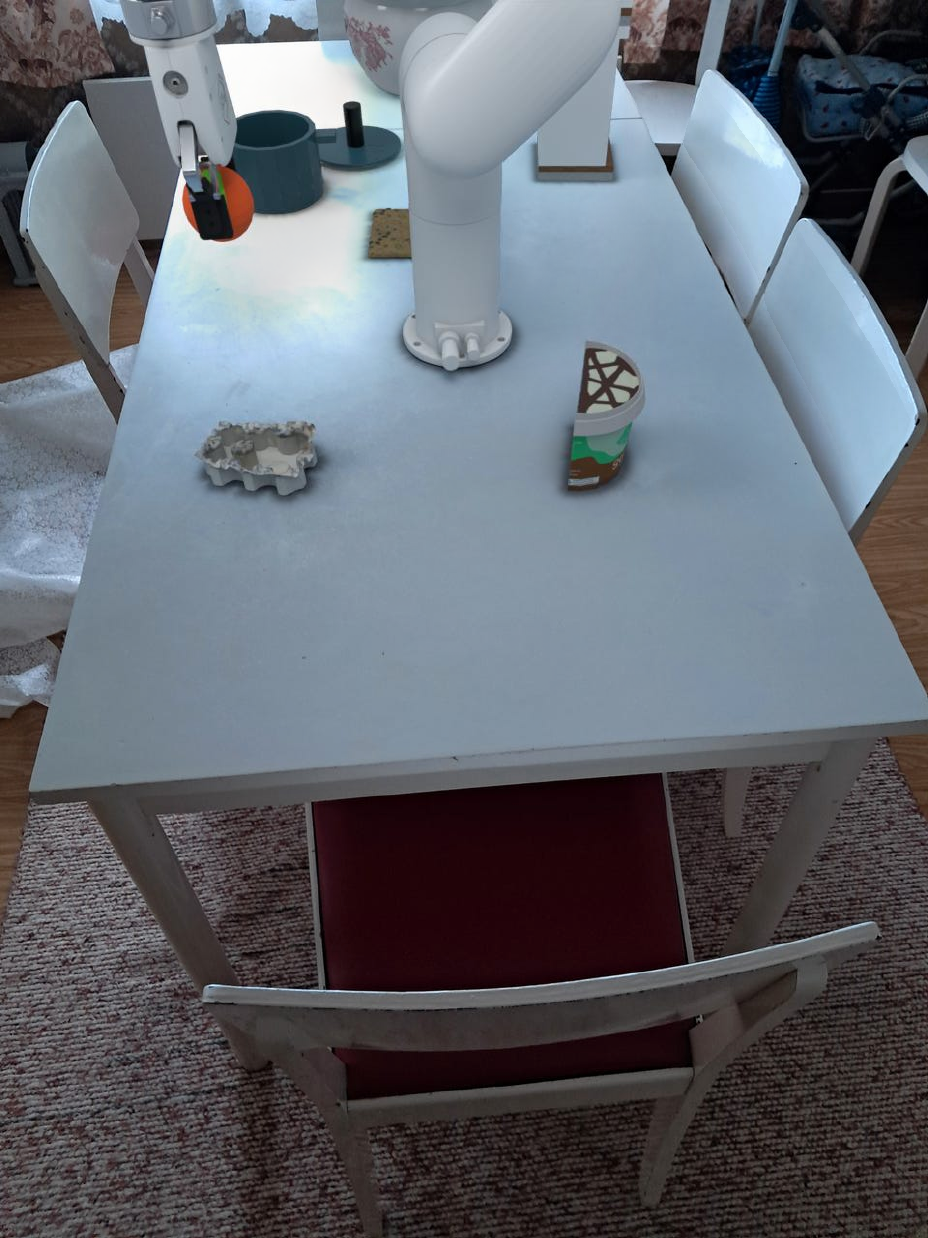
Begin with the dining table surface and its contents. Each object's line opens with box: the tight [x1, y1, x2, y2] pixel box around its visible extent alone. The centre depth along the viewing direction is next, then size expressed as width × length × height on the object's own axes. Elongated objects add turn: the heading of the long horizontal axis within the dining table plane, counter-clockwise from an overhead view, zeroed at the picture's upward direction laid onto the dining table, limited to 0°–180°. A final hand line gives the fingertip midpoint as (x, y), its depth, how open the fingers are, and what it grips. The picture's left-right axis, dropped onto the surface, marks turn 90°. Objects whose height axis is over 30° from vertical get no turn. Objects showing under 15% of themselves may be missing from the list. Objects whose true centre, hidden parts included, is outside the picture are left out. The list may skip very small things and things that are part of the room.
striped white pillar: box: [536, 0, 634, 182], centre depth 115 cm, size 11×11×35 cm
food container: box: [567, 339, 646, 492], centre depth 83 cm, size 12×6×10 cm, turn 171°
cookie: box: [367, 207, 412, 259], centre depth 115 cm, size 12×12×1 cm
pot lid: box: [318, 100, 402, 169], centre depth 129 cm, size 14×14×7 cm
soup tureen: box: [342, 0, 493, 97], centre depth 139 cm, size 28×28×21 cm
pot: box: [232, 109, 337, 215], centre depth 120 cm, size 13×18×8 cm
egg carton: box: [193, 420, 318, 497], centre depth 85 cm, size 11×8×4 cm
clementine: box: [181, 165, 255, 243], centre depth 86 cm, size 8×7×7 cm
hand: (222, 215), depth 87 cm, fingers closed on clementine, 7 cm apart
